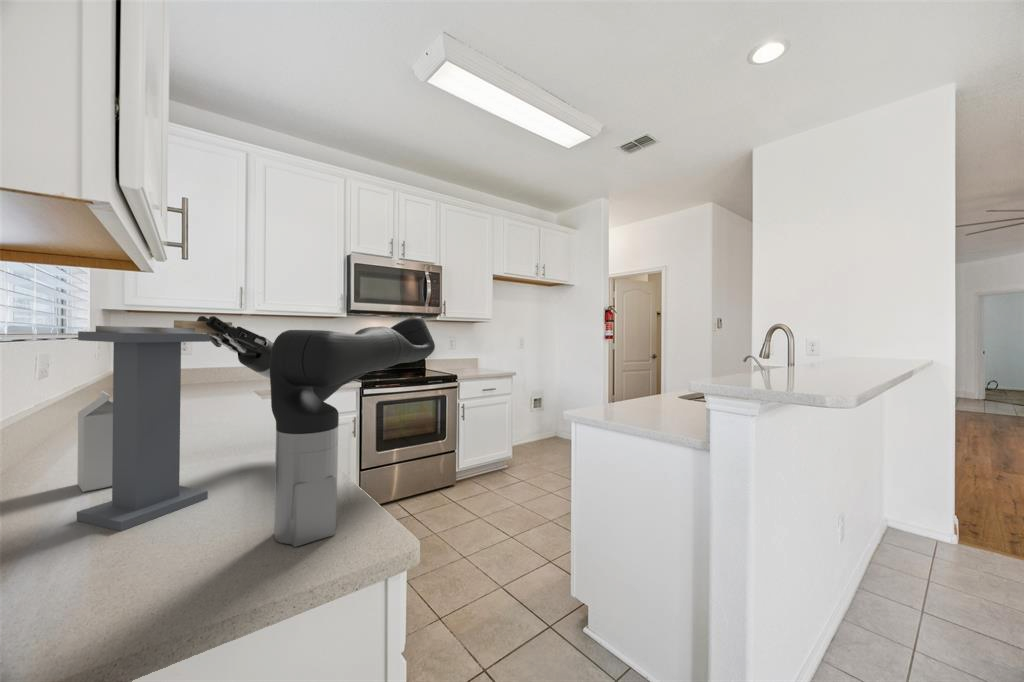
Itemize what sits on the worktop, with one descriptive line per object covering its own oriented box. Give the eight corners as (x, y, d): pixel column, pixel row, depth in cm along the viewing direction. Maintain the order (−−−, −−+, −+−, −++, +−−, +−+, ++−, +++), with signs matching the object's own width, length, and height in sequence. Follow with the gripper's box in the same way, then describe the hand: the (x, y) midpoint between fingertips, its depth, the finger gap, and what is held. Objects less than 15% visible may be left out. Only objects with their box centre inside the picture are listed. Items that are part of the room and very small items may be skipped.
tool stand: (167, 490, 83) (168, 332, 82) (207, 498, 80) (209, 333, 79) (76, 520, 69) (78, 331, 69) (121, 531, 66) (123, 333, 66)
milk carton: (82, 493, 81) (83, 396, 80) (77, 484, 85) (77, 392, 85) (131, 483, 86) (132, 393, 86) (123, 475, 91) (124, 389, 90)
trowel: (217, 333, 89) (217, 321, 89) (238, 333, 88) (238, 322, 88) (95, 331, 69) (95, 317, 69) (120, 332, 67) (120, 318, 67)
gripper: (251, 343, 102) (188, 304, 87) (296, 345, 98) (238, 304, 83) (236, 371, 98) (169, 334, 84) (283, 374, 94) (220, 336, 80)
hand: (204, 320), depth 84 cm, fingers closed on trowel, 2 cm apart
